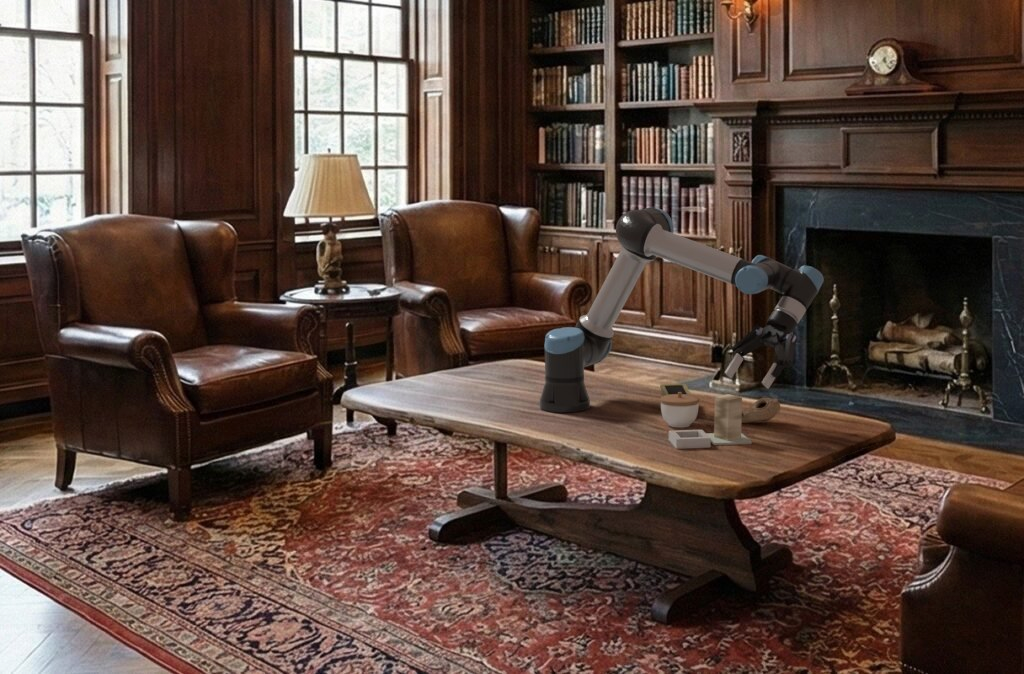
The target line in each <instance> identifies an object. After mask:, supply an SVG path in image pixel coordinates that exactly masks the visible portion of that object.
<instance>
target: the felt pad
mask: <svg viewBox="0 0 1024 674" xmlns="http://www.w3.org/2000/svg"><path fill="white" fill-rule="evenodd" d="M705 433H706V434H707V435H708V436H709V437H710V438H711V444H712V445H714V446H731V445H732V446H733V445H752V440H751V439H749V438H748V437H747V436H746V435H745V434H744V433H742V432H741V438H738V439H734V440H729V441H726V440H723V439H719V438H716V437H714V432H712V433H711V432H710V433H708V432H705Z"/></svg>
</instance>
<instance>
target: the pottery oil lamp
mask: <svg viewBox="0 0 1024 674" xmlns="http://www.w3.org/2000/svg"><path fill="white" fill-rule="evenodd" d="M780 412H781V403H780V402H779V399H778V398H776V397H775V398H771V397H762V398H758V400H756V401H755V402H754V403H753V404H752V405H751V406H749V407H747V408H746V409H743V410H742V422H741V424H749V423H754V422H763V423H764V422H767V421H771V419H773V418H775V417H776V416H777V415H778V414H779V413H780Z"/></svg>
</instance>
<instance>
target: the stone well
mask: <svg viewBox="0 0 1024 674" xmlns="http://www.w3.org/2000/svg"><path fill="white" fill-rule="evenodd" d="M706 433H707V432H705V431H704V430H703V429H682V430H681V429H680V430H676V429H675V430H668V441H669V442H670V443H671V445H673V447H674V448H675V449H677V450H678V449H682V450H683V449H705V448H706V449H707V448H711V444H712V443H711V438H710V437H709V436H708V435H707V434H706Z"/></svg>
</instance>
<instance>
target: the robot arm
mask: <svg viewBox="0 0 1024 674" xmlns="http://www.w3.org/2000/svg"><path fill="white" fill-rule="evenodd" d="M674 226H675V225H674V223H673V220H672V217H670V215H669V214H668V212H666V211H665V210H663V209H661V208H658V207H657V208H656V207H646V208H642V209H633V210H629V211H627V212H625V213H624V214H622V215H621V216H620V217H619V219H618V221H617V222H616V226H615V235H616V238H617V241H618V242H619V245H620V251H619V253H618V255H617V256H616V259H615V261H614V263H613V264H612V267H611V268H610V270H609V272H608V274H607V276H606V278H605V279H604V282H603V283H602V285H601V288H600V290H599V291H598V293H597V294H596V296H595V299H594V301H593V303H592V305H591V307H590V309H589V310H588V312H587V314H584V315H581V316H580V317H579V319H578V321H577V322H576V325H575V326H574V327H572V326H568V327H565V326H564V327H561V328H554V329H552V330H549V331H548V332H547V333H546V334H545V338H544V347H543V348H544V370H545V372H544V373H545V374H544V375H545V377H544V379H545V380H544V385H543V389H542V392H541V394H540V397H539V408H540V409H541V410H543V411H546V412H552V413H577V412H578V413H579V412H583V411H586V410H589V409H590V407H591V399H590V396H589V393H588V389H587V387H586V383H585V368H586V367H589V366H592V365H596V364H598V363H601V362H602V361H603V360H604V359H605V358H607V357H608V355H610V352H611V351H612V346H613V345H612V344H613V341H612V339H613V337H614V335H615V333H614V329H613V328H614V327H613V326H614V324H615V323H616V322H617V320H618V317H619V316H620V314H621V311H622V310H623V308H624V306H625V304H626V303H627V301H628V300H629V297H630V296H631V293H632V291H633V289H634V288H635V286H636V285H637V284H636V283H637V282H638V280H639V278H640V276H641V275H642V273H643V271H644V269H645V267H646V265H647V263H649V262H653V261H655V260H656V257H657V258H660V259H663V260H667V261H668V262H670V263H674V264H676V265H678V266H681V267H684V268H687V269H690V270H692V271H695V272H697V273H700V274H703V275H706V276H708V277H711V278H713V279H716V280H718V281H720V282H721V281H722V282H724V283H727V284H729V285H732V286H734V287H737V289H738V291H740V292H741V293H743V294H746V295H755V294H756V295H757V294H759V293H762V292H764V291H765V290H769V289H770V290H773V291H775V292H777V293H779V294H781V295H782V296H781V297H780V299H779V301H778V303H777V304H776V306H775V308H774V310H773V311H772V312H771V313H770V315H769V317H768V318H767V321H766V325H765V327H761V326H760V325H758V324H756V325H755V326H754V327H753V328H752V330H751V331H750V332H749V333H747V334H746V335H744V337H742V338H741V339H740V340H738V342H736V343H735V344H734V345H732V346H731V348H730V349H731V351H732V352H733V353H734V354H733V355H732V357H731V359H730V361H729V365H728V366H727V368H726V369H725V370H724V374H725V375H726V376H727V377H728V378H729V379H732V378H733V377H734V375H735V374H736V373H737V370H738V369H739V367H740V366H741V364H742V362H743V361H744V358H743V357H746V355H748V354H750V353H751V352H754V351H755V350H757V349H758V348H760V347H765V346H766V347H772V348H774V349H775V350H774V351H775V357H776V360H775V362H773V363H772V365H771V366H770V368H769V370H768V371H767V373H766V375H765V376H764V377H763V379H762V381H761V384H762V385H763V386H764V387H765V388H766V389H770V387H771V386H772V384H773V382H774V381H775V379H777V378H778V377H779V376H780V374H781V373H782V371H783V369H785V368H788V369H791V368H792V367H793V362H794V361H793V360H794V354H795V347H796V346H795V345H796V343H797V341H798V337H797V336H796V335H795V333H794V332H795V330H796V328H797V326H798V324H799V323H800V321H801V319H803V316H804V315H805V313H806V312H807V310H808V308H809V306H810V305H811V304H812V302H813V301H814V299H815V297H816V296H817V294H818V293H819V291H820V289H821V287H822V285H823V284H824V280H825V279H824V275H823V273H821V271H820V270H818V269H817V268H814V267H813V266H810V265H807V264H806V265H805V264H804V265H802V266H800V267H799V268H797V269H794V268H791V267H790V266H787V265H785V264H783V263H781V262H779V261H776V260H775V259H773V258H771V257H770V256H766V255H762V254H758V255H756V256H755V257H754V258H753V259H752V260H751V261H749V260H746V259H743V258H741V257H738V256H736V255H733V254H730V253H727V252H724V251H722V250H719V249H717V248H714V247H711V246H708V245H706V244H704V243H700V242H698V241H695V240H692V239H689V238H687V237H684V236H681V235H679V234H675V233H674V230H675V228H674ZM784 342H785V346H784ZM784 347H785V348H784Z"/></svg>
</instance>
